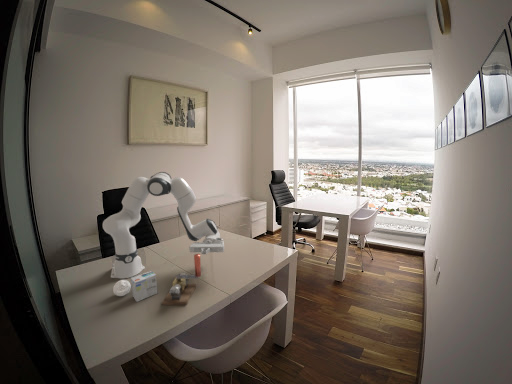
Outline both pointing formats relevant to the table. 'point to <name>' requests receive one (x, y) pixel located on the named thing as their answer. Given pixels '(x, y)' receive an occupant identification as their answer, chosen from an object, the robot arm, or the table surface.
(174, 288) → the valve pipe
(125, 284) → the white frosted cupcake
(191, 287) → the mounting board
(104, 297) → the table surface
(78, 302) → the table surface
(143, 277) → the light bulb box
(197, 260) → the lever
